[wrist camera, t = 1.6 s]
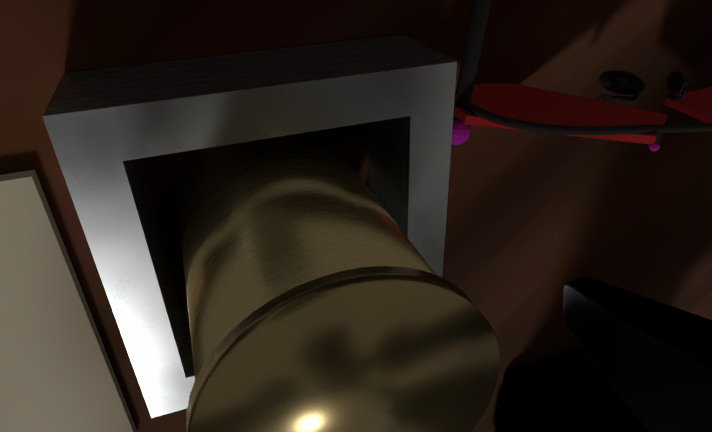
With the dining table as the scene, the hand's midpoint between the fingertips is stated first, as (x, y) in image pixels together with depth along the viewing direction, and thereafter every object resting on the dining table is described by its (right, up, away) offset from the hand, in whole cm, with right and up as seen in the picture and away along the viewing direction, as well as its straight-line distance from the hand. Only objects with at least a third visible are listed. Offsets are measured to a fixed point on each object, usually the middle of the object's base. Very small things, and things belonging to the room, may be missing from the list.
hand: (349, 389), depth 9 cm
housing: (-2, +4, +6) cm, 7 cm away
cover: (-2, +4, +6) cm, 7 cm away
